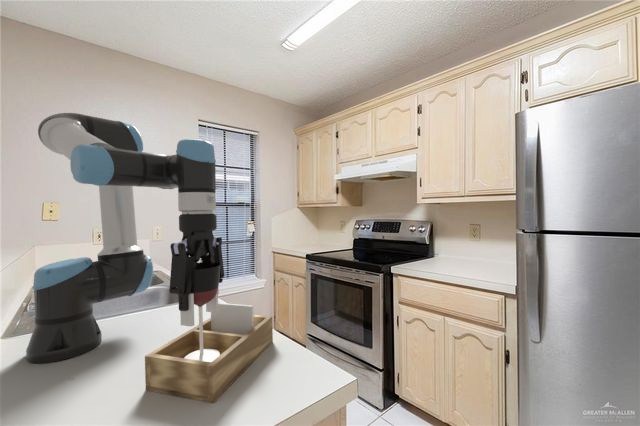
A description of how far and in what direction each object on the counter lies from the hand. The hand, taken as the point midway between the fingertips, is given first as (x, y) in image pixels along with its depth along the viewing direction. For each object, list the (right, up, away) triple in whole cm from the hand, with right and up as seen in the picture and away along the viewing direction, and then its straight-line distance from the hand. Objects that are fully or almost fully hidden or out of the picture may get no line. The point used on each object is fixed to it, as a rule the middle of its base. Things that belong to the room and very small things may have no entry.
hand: (200, 317), depth 64 cm
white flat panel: (+3, -12, +12) cm, 17 cm away
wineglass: (0, -9, 0) cm, 9 cm away
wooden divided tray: (+2, -13, +6) cm, 14 cm away
